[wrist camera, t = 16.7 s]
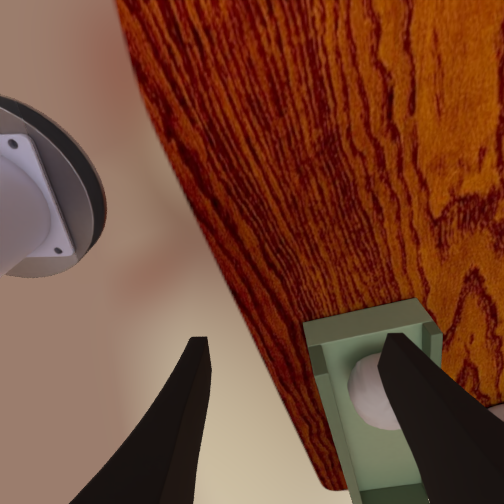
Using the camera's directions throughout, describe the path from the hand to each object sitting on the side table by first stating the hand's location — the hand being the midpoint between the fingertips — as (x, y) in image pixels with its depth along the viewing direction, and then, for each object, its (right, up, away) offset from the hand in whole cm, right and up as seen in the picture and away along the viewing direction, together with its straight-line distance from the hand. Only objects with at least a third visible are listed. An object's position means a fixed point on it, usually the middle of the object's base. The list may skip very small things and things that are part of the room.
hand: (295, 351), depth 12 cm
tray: (+11, -12, +19) cm, 25 cm away
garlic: (+8, -5, +11) cm, 14 cm away
